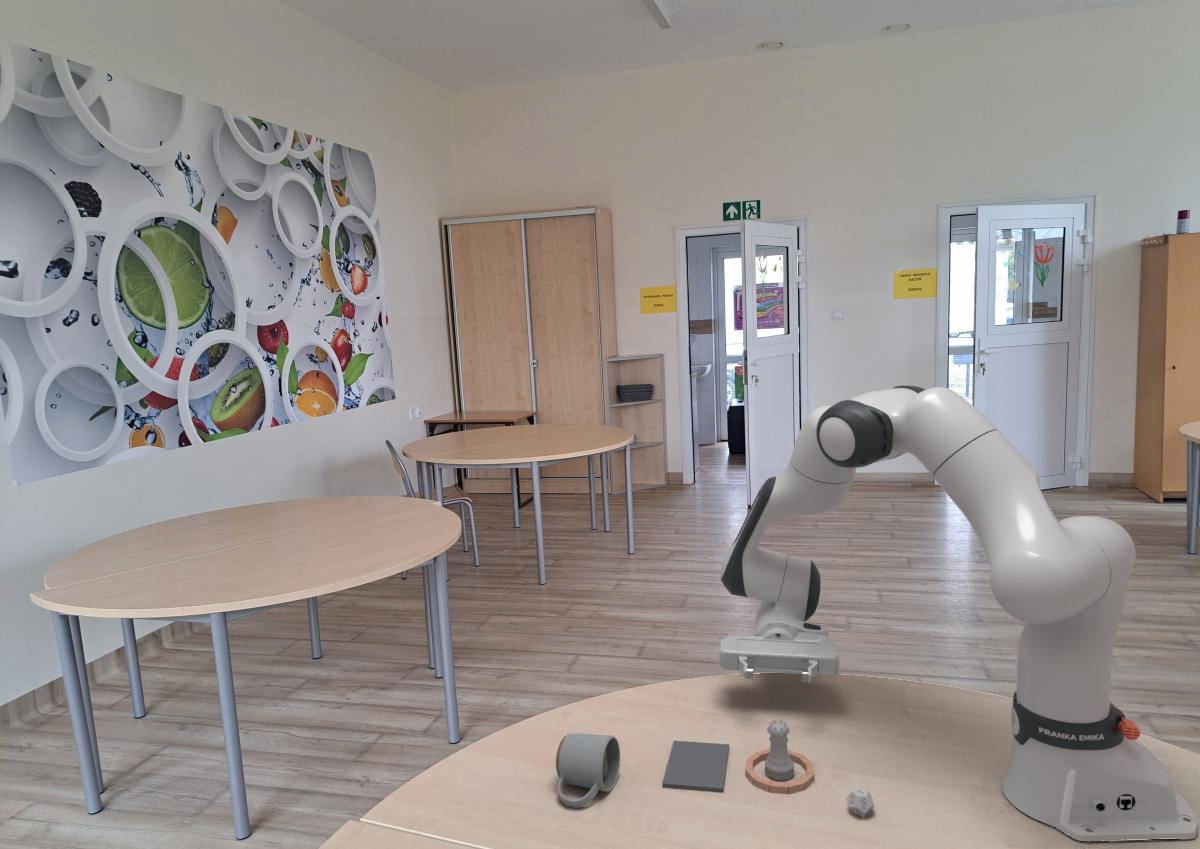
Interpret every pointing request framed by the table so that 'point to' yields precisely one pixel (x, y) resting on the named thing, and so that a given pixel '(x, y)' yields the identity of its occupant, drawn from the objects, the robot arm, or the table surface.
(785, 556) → the robot arm
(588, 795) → the ceramic mug
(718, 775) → the charcoal mat
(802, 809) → the table surface
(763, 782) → the terracotta ring
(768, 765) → the rook chess piece
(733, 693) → the table surface
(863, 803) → the game die
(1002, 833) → the table surface
